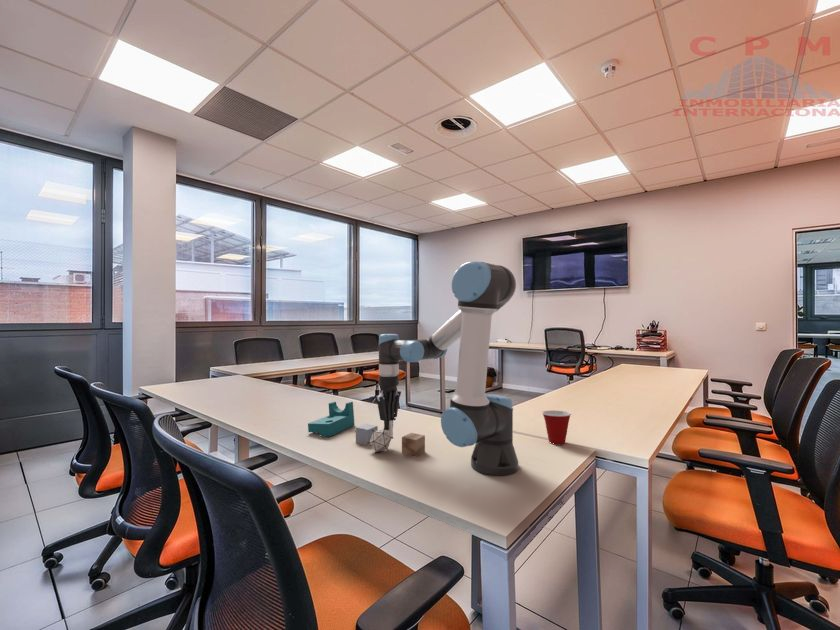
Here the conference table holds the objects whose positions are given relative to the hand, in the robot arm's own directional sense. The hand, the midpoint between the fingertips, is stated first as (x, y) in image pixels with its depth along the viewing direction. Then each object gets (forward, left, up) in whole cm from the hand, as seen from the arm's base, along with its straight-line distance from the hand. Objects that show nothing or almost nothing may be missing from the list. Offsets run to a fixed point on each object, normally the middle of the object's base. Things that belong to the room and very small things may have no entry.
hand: (388, 437), depth 136 cm
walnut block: (-11, 0, -4) cm, 12 cm away
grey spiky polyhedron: (0, +5, -4) cm, 6 cm away
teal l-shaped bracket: (+34, -4, -4) cm, 34 cm away
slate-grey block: (+11, 0, -4) cm, 12 cm away
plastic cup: (-52, -39, -4) cm, 65 cm away
